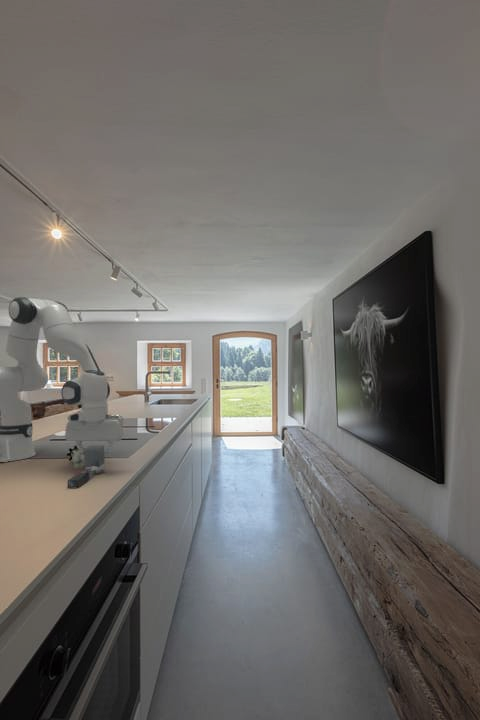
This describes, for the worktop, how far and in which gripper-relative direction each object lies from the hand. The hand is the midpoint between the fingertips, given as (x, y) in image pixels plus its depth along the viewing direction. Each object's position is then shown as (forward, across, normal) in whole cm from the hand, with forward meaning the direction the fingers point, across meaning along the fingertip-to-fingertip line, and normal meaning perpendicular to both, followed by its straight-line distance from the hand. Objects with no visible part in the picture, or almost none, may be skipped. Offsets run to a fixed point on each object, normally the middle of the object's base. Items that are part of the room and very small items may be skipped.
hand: (94, 452), depth 128 cm
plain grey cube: (+4, 0, 0) cm, 4 cm away
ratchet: (+7, 0, +7) cm, 10 cm away
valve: (+8, +12, -11) cm, 17 cm away
